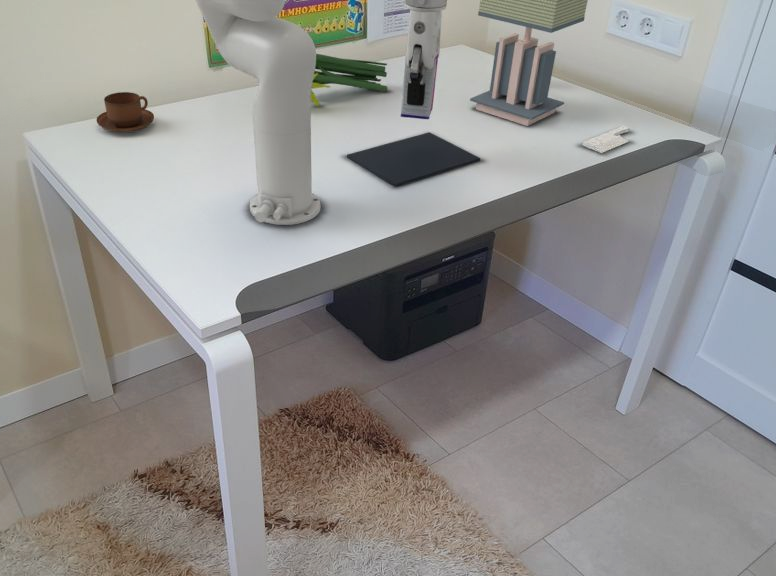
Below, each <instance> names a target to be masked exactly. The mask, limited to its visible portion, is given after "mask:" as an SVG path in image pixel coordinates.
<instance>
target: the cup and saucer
mask: <svg viewBox="0 0 776 576" xmlns="http://www.w3.org/2000/svg"><path fill="white" fill-rule="evenodd" d="M141 100H143V101H144V105H143V106H142V103H141ZM103 102H104V106H105V111H104V112H102V113H100V114H99V115H98V116H97V117H96V123H97V125H98V126H99V127H100V128H102V129H103V130H106V131H109V132H112V133H113V132H114V133H132V132H136V131H141V130H143V129H145V128H147V127H148V126H150V125H152V124H153V122H154V120H155V115H154V113H153V112H152V111H150V110H148V109H147V107H148V105H149V102H148V99H147V97H145V96H144V95H139V94H137V93H136V92H130V91H121V92H120V91H119V92H114V93H111V94H108V95H106V96H104V98H103Z"/></svg>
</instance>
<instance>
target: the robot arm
mask: <svg viewBox="0 0 776 576" xmlns="http://www.w3.org/2000/svg"><path fill="white" fill-rule="evenodd" d="M195 1H196V5H197V7H198V9H199V11H200V13H201V15H202V18H203V20H204V22H205V25H206V26H207V29H208V31H209V33H210V36H211V38H212V40H213V42H214V44H215V47H216V48H217V50H218V52H219V54H220V55H221V57H222V58H223V60H224V61H225V62H226V63H227V64H228V66H231V67H232V68H234V69H235V70H237V71H240V72H241V73H244V74H247V75H248V76H251V77H253V78H255V79H257V80H258V87H257V91H256V93H255V97H254V100H253V103H252V112H251V113H252V115H251V116H252V126H253V141H254V142H253V143H254V144H253V145H254V158H255V159H254V160H255V173H256V187H257V189H256V191H257V193H256V194H255V195H254V196H252V198H251V199H250V201H249V211H250V213H251V215H252V216H253V217H254V219H255V221H257V222H258V223H266V224H271V225H276V226H290V225H291V226H292V225H297V224H302V223H306V222H308V221H310V220H312V219H314V218H315V217H317V215H319V213H320V212H321V208H322V206H321V200H320V198H319V197H318V195H316V194H315V193H313V189H312V188H313V187H312V186H313V185H312V184H313V183H312V180H313V179H312V124H311V123H312V122H311V121H312V120H311V119H312V118H311V117H312V116H311V115H312V114H311V107H312V105H311V104H312V101H311V90H312V89H313V88H312V82H313V77H314V71H316V69H315V66H316V54H317V50H316V45H315V43H314V41H313V38H312V37H311V36H310V34H309V33H308V32H307V31H306V30H305V29H304V28H303V27H301V26H300V25H298V24H296V23H293V22H292V21H288V20H287V19H286V20H283V19H284V18H280V17H278V16H279V15H280V14H281V13H282V11H283V9H284V7H285V3H286V0H195ZM447 5H448V0H404V7H405V9H409V17H408V28H407V29H408V30H407V40H406V43H407V44H406V55H407V56H406V55H405V59H406V64H407V66H408V67H410V73H409V82H408V90H407V104H408V105H417V106H423V104H424V95H425V84H424V78H425V70H426V68H428V69H432V68H433V67H434V59H435V57H436V56H437V54H438V58H439V57H440V52H441V51H440V50H441V36H442V35H441V34H442V17H443V16H442V15H443V14H442V11H444V10H446V9H447V7H448V6H447ZM421 53H422V54H421ZM409 60H410V61H411V62H409ZM420 63H422V64H423V67H421V66H419V64H420ZM409 65H411V66H409ZM419 70H422V73H421V74H420V73H419ZM312 91H313V90H312Z"/></svg>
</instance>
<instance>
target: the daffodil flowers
mask: <svg viewBox="0 0 776 576" xmlns="http://www.w3.org/2000/svg"><path fill="white" fill-rule="evenodd" d="M286 17H287V16H284V17H283V18H282V19H283V20H286V21H287V19H286ZM387 65H388V63H387V62H379V61H371V60H362V59H352V58H351V59H350V58H340V57H335V56H330V55H326V54H321V53H316V66H315V71H314V77H313V82H312V89H320V88H331V85H332V84H333V85H340V86H346V87H347V86H348V87H355V88H361V89H366V90H374V91H379V92H384V93H385V92H386V93H387V92H388V85H385V84H381V83H378V82H381V81H382V78H387V75H388V73H387V71H386V66H387ZM319 70H320V71H319ZM378 77H381V78H378ZM330 84H331V85H330ZM311 103H314V104H315V105H316V106H317V107H321V105H320V103H319V100H318V98H317V96H316V95H315V93H314V92H313V90H311Z"/></svg>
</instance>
